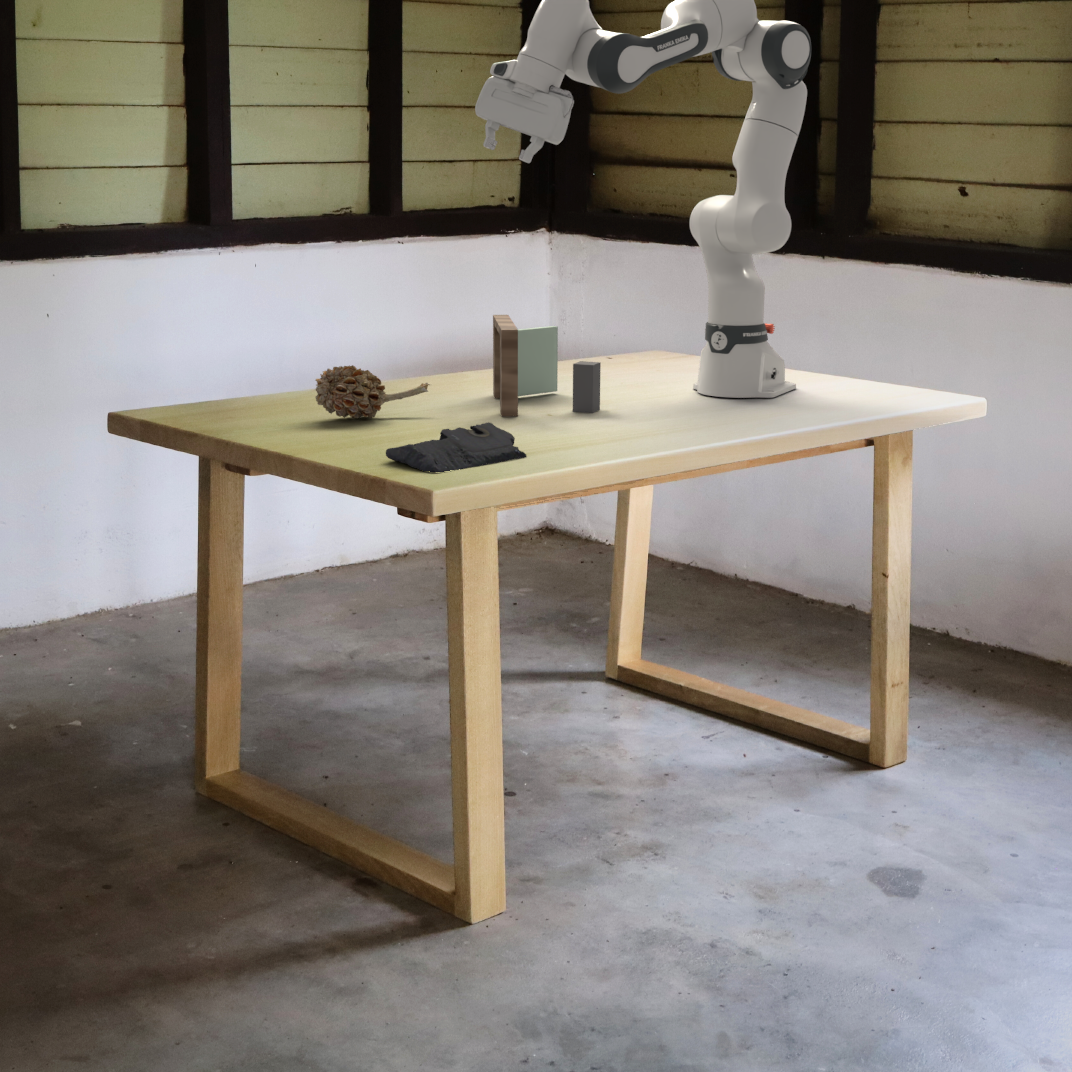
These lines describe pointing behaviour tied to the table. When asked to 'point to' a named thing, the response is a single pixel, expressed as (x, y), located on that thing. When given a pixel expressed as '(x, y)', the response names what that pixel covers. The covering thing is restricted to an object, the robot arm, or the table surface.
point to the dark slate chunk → (459, 449)
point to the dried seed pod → (356, 392)
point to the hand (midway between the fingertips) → (505, 154)
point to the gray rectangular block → (586, 386)
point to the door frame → (505, 364)
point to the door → (537, 360)
